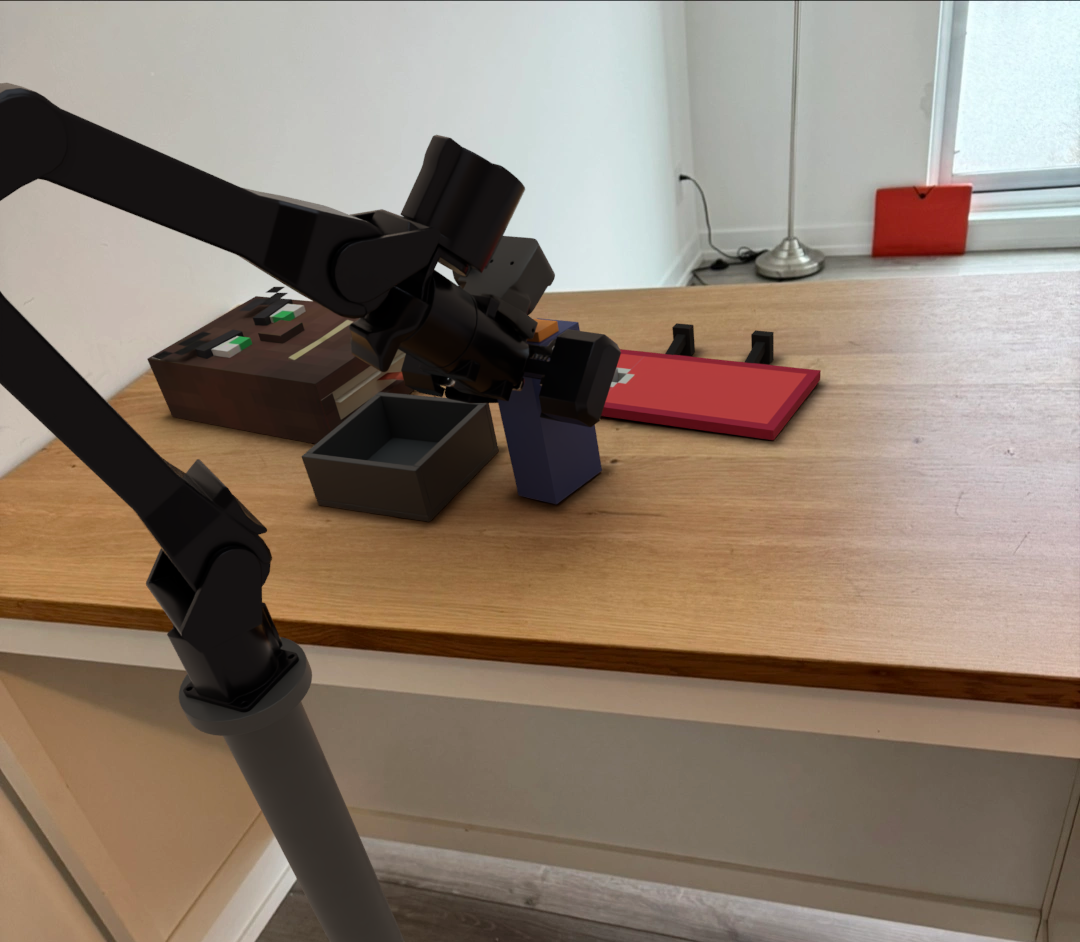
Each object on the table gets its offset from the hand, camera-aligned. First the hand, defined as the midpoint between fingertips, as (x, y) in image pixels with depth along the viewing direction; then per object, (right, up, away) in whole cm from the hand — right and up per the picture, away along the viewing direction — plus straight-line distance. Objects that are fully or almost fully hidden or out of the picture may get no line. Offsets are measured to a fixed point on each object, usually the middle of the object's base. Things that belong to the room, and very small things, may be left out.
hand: (562, 401), depth 85 cm
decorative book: (-28, +9, +27) cm, 40 cm away
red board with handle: (+10, +6, +15) cm, 19 cm away
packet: (0, -6, +4) cm, 7 cm away
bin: (-14, -4, +9) cm, 17 cm away
